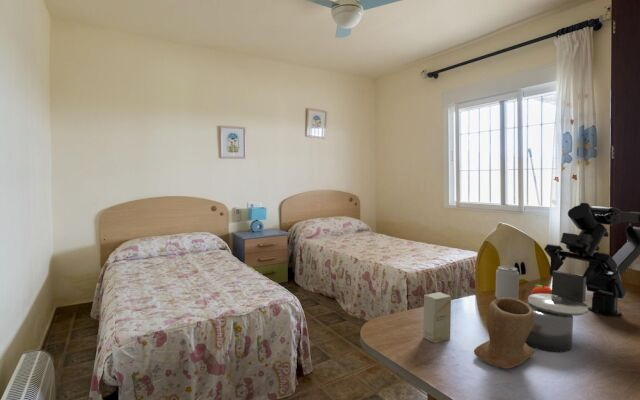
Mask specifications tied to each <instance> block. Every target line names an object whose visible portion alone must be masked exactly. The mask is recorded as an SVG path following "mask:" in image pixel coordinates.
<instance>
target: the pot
mask: <svg viewBox="0 0 640 400" xmlns="http://www.w3.org/2000/svg"><path fill="white" fill-rule="evenodd" d="M526 304H527V305H529V306H530V307H531V308H532V310H533V312H534V321H533V327H532V329H531V331H530V333H529V335H528V337H527V339H526V341H525V343H526V344H527V345H528V346H529V347H531V348H532V349H536V350H538V351H544V352H549V353H567V352H569V351H571V350H572V349H573V331H574V330H573V329H574V316H571V315H560V314H554V313H550V312H546V311H542V310H539V309H537V308H535V307H533V306H531V305H530V304H529V303H528V302H527V303H526Z"/></svg>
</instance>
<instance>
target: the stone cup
mask: <svg viewBox="0 0 640 400" xmlns="http://www.w3.org/2000/svg"><path fill="white" fill-rule="evenodd" d="M527 304H528V303H525V301H522V300H520V299H519V298H518V299H514V298H508V297H501V298H495V299H493V300H492V301H491V302H490V303H489V306H488V309H487V315H486V327H487V331H488V337H489V340H487V341H485V342H484V343H481V344H479V345H477V346H476V347H475V348H474V349H473V354H474V355H475V356H476V357H477V358H478V359H480V360H481V361H483V362H485V363H486V364H489V365H491V366H494V367H496V368H500V369H506V370H507V369H511V368H514V367H517V366H519V365H521V364H522V363H524V362H525V361H527V360H528V359H529V358H531V357H532V356H533V355H534V354H535V351H534V348H532V347H529V346H528V345H527V344H526V343H525V341H526V339H527V337H528V335H529V333H530V331H531V329H532V327H533V321H534V312H533V310H532V308H531V307H530V306H529V305H527Z"/></svg>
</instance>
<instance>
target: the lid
mask: <svg viewBox="0 0 640 400" xmlns="http://www.w3.org/2000/svg"><path fill="white" fill-rule="evenodd" d="M551 277H552V280H551V290H552V294H532V295H531V294H530V295H528V297H527V304H528V303H529V304H530V305H531V306H533V307H535V308H537V309H539V310H542V311H546V312H550V313H554V314H560V315H571V316H573V317H575V316H578V317H579V316H583V315H586V314H587V315H588V312H589V309H588V307H589V306H588V304H586V303H585V302H586V292H587V287H586V277H585V276H583V275H579V274H574V273H568V272H564V271H559V270H558V271H553V273H552V276H551Z"/></svg>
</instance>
